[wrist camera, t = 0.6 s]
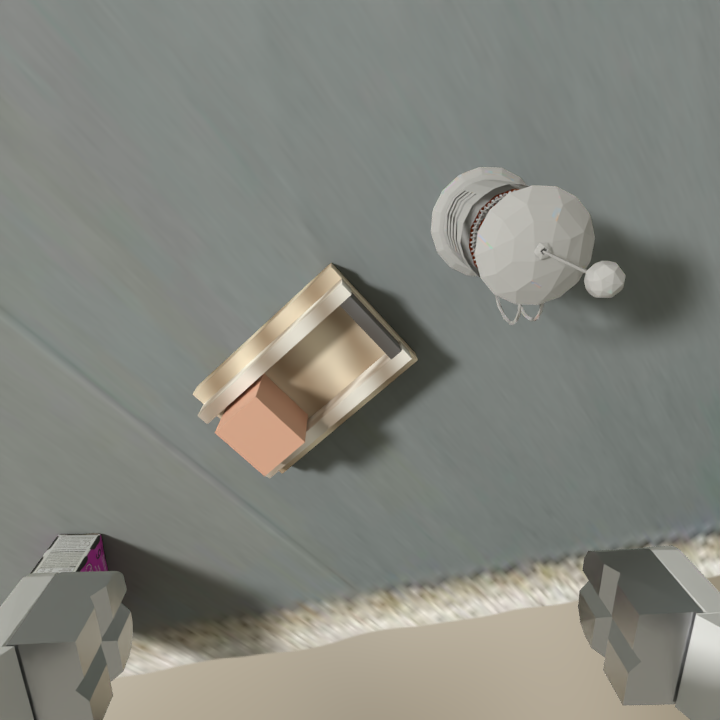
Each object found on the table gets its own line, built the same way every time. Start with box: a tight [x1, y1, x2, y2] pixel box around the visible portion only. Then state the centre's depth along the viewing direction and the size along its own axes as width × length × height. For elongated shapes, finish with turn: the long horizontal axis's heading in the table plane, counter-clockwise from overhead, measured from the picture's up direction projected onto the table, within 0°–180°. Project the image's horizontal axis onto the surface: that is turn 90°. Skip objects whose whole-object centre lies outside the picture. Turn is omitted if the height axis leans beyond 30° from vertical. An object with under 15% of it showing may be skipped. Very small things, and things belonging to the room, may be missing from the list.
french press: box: [431, 167, 626, 325], centre depth 39 cm, size 10×12×25 cm
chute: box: [193, 263, 418, 479], centre depth 53 cm, size 18×12×4 cm, turn 132°
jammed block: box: [215, 374, 308, 476], centre depth 51 cm, size 5×6×6 cm
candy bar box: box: [30, 534, 108, 574], centre depth 54 cm, size 11×5×16 cm, turn 0°
